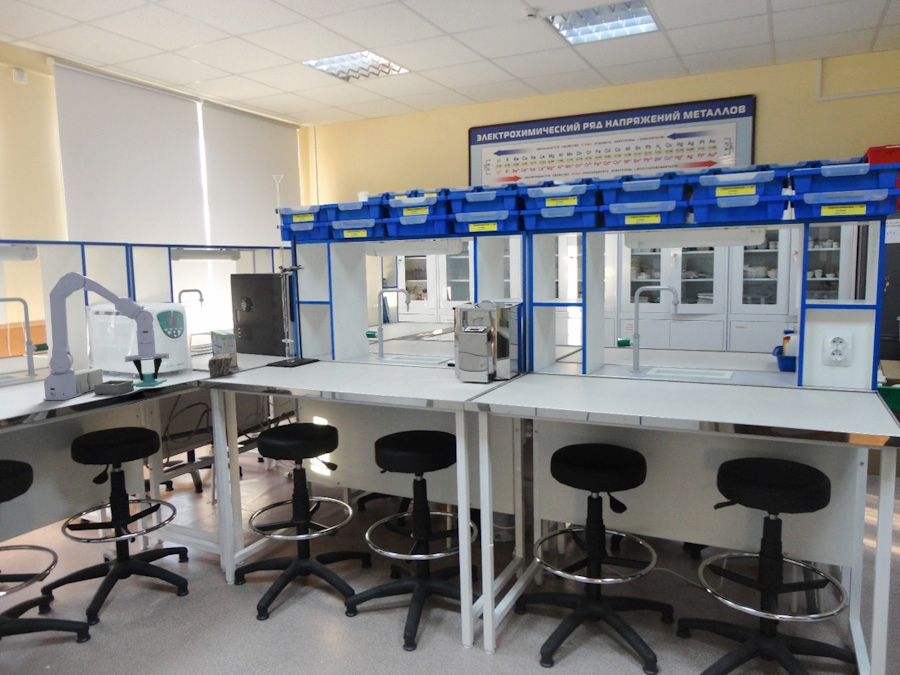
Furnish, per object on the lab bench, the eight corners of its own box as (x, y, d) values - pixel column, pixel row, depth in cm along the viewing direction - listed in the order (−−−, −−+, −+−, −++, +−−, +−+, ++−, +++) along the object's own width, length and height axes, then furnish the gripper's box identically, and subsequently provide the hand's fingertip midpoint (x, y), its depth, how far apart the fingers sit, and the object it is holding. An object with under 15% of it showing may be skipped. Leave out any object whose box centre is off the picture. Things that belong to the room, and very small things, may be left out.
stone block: (231, 376, 259) (231, 357, 258) (208, 377, 258) (207, 358, 257) (237, 370, 273) (236, 352, 272) (215, 371, 272) (214, 353, 271)
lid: (155, 387, 229) (154, 375, 228) (130, 387, 229) (130, 375, 228) (167, 382, 238) (166, 371, 237) (143, 383, 238) (142, 371, 237)
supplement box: (104, 387, 238) (79, 394, 226) (87, 387, 240) (61, 394, 227) (102, 368, 237) (77, 374, 225) (85, 368, 239) (59, 374, 226)
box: (119, 394, 224) (118, 385, 224) (95, 394, 225) (94, 385, 224) (133, 389, 233) (133, 380, 233) (110, 389, 234) (110, 380, 233)
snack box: (211, 362, 297) (209, 330, 296) (223, 361, 301) (222, 329, 299) (225, 367, 280) (223, 334, 279) (238, 366, 284) (236, 333, 282)
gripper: (166, 340, 238) (169, 375, 240) (123, 343, 231) (126, 380, 233) (168, 342, 232) (171, 378, 234) (124, 345, 225) (127, 382, 227)
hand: (148, 379), depth 233 cm, fingers closed on lid, 4 cm apart
